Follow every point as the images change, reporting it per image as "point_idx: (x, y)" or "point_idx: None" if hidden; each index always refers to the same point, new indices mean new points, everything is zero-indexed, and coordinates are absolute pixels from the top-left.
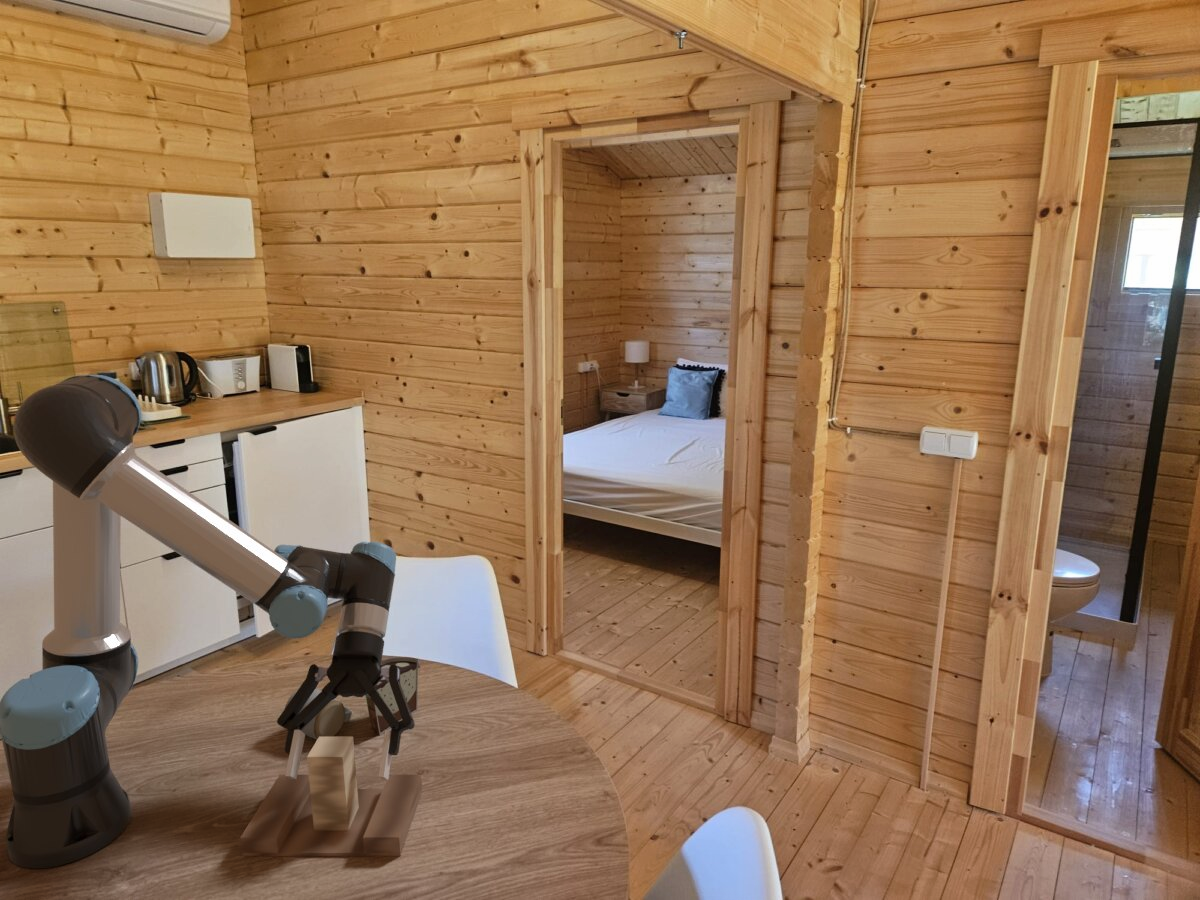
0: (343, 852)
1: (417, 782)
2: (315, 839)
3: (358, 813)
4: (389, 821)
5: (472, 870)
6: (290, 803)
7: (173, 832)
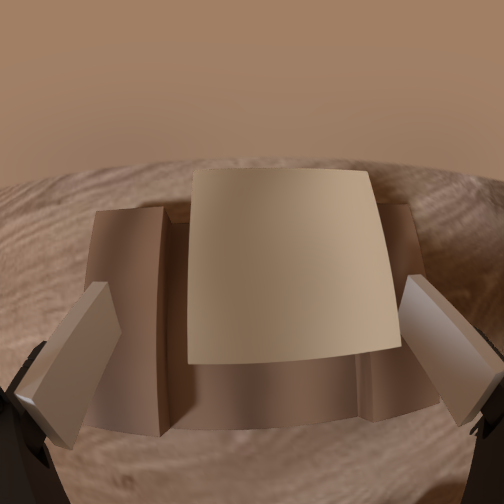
0: None
1: None
2: None
3: None
4: (116, 254)
5: (27, 211)
6: None
7: (496, 270)
